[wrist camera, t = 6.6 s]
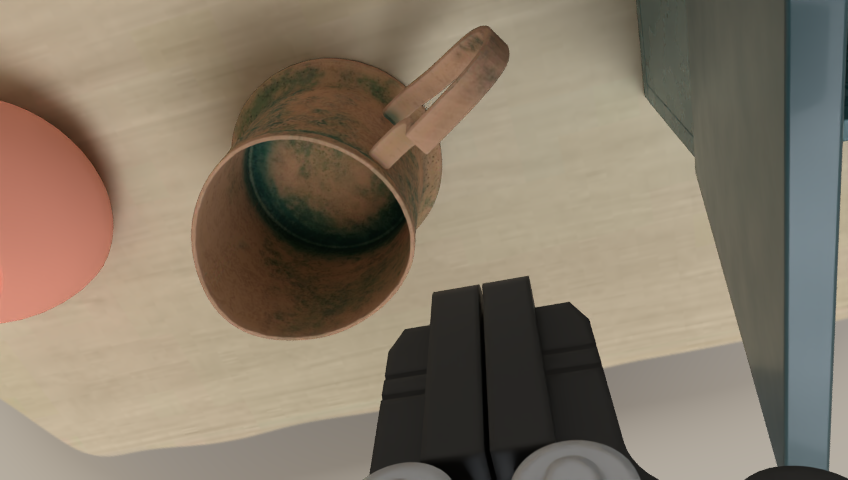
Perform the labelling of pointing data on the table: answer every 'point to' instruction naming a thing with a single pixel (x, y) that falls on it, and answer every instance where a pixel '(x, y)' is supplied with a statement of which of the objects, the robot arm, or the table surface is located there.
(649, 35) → the teal storage bin
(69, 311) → the table surface
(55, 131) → the sugar bowl
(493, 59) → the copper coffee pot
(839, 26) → the lid
